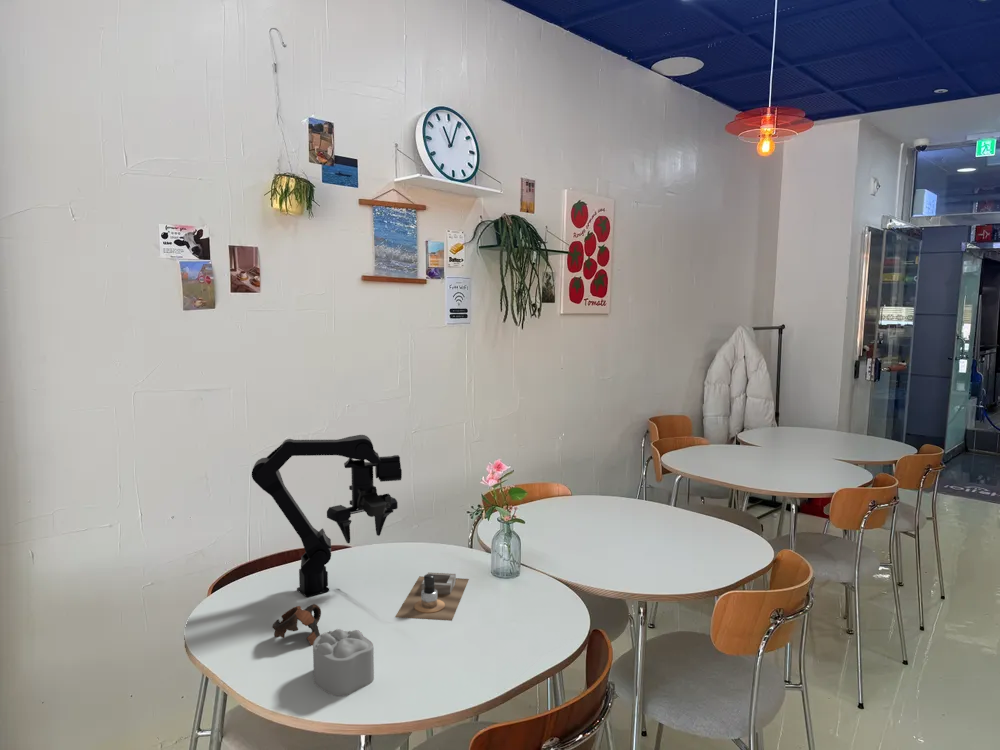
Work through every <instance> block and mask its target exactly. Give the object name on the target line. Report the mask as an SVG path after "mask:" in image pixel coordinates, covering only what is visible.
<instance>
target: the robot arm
mask: <svg viewBox="0 0 1000 750" xmlns="http://www.w3.org/2000/svg"><path fill="white" fill-rule="evenodd" d="M294 456H296V457H297V456H303V457H305V456H307V457H308V456H315V457H317V456H339V457H344V458H347V461H345V462H344V463H343V465H344V469H351V470H350V471H351V473H350V474H351V484H350V485H349V486H348V487H349V489H348V490H350V491H351V500H349V505H351V506H350V507H346V506H344V505H341V504H339V505H334V506H329V507H328V508H327V510H326V518H327V519H329V520H331V521H333V522H335V523H336V525H338V527H339V530H340V532H341V533H342V535H343V538H344V540H345V542H346V543H347V544H351V529H350V528H351V527H350V526H351V523H352V520H351V519H350V518H351V516H352V515H353V514H358V513H363V512H365V513H366V514H367V516H368V517H371V518H374V525H375V532H376V536H378V537H380V536H381V534H382V530H383V528H384V525H385V522H386V520H387V517H388V516H390V514H392V513H394V510H397V509H398V500H397V499H396V498H395V497H393V496H391V495H390V494H389V493H383V494H378V490H377V487H376V486H374V474H375V479H378V480H379V482H381V483H382V482H397V481H402V476H403V475H402V474H403V472H402V466H401V465H402V464H401V457H400V455H398V454H394V455H388V456H380V455H379V453H378V452H376V450H375V449H374V445H373V443H372V439H371V438H370V437H368V435H366V434H357V435H351V436H347V437H344V438H343V437H342V438H337V439H291V438H287V439H285V440H284V441H283V442H282V443H281V444H280V445H279V446H278V447H276V448H275V449H274V450H273V451H272V452H271V453H269V455H267V456H266V457H261V458H260V459H257V461H255V463H254V464H253V468H252V471H251V478H252V480H253V482H255V483H256V484H257V485H258V486H259V487H260V489H262V491H264V492H265V493H267V494H269V495H270V496H271V497H272V499H273V500H274V502H275V503H276V505H277V506H278V508H279V509H280V510H281V512H282V513H283V515H284V517H285V518H286V519H287V520H288V522H289V524H290V525H291V526H292V528H293V529H294V531H295V532H296V534H297V536H298V537H299V538H300V540H301V543H302V545H303V548H304V550H305V552H304V553H303V554H302V555H301V557H300V558H301V559H300V561H301V562H300V568H299V569H298V572H299V573H298V577H299V581H298V582H299V583H298V584H299V585H298V586H299V587H296V590H297V591H298V592H299V593H301V594H302V595H303V596H305V597H306V598H309V597H313V596H317V595H320V594H322V593H326V592H327V593H328V592H330V588H329V587H328V586H329V578H328V577H329V574H328V571H327V566H325V565H327V564H328V563H329V562H330V560H331V557H332V541H331V540H332V539H331V538H330V537H328V535H327V534H326V531H325V530H324V528H321V529H320V530H319V531H318V529H316V528H315V527H314V526H313V525H312V523H311V522H310V521H309V519H308V517H307V516H306V514H305V513H304V512H303V509H301V508H300V506H299V505H298V503H297V501H296V500H295V498H294V497H293V496H292V494H291V492H289V490H288V488H287V486H286V485H285V483H284V480H283V477H282V474H281V472H280V469H281V468H282V467H283V466H284V465H285V464H286V463H287V462H288V461H289V460H290V459H291V458H292V457H294ZM365 460H366V462H365ZM367 461H368V462H367ZM374 468H375V469H374ZM374 471H375V472H374Z"/></svg>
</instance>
